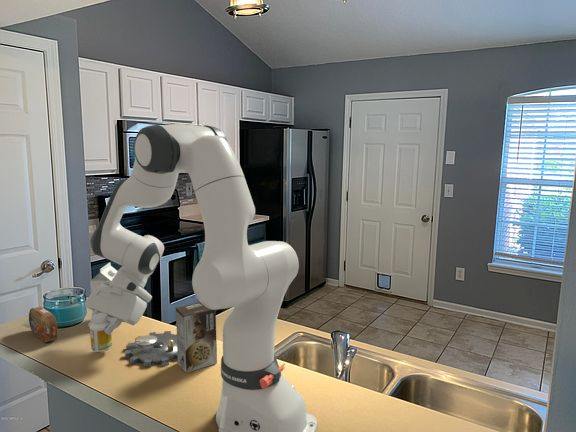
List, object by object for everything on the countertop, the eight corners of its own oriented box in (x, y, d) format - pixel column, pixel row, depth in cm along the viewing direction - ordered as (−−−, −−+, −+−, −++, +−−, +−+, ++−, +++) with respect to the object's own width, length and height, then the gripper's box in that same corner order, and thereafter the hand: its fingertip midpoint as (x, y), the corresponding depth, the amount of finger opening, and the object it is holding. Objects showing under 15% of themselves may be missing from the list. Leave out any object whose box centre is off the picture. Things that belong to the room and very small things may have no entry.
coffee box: (207, 353, 123) (206, 300, 120) (217, 363, 118) (217, 308, 115) (176, 362, 118) (174, 307, 115) (185, 373, 113) (183, 315, 110)
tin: (29, 330, 135) (26, 305, 133) (39, 327, 137) (37, 302, 135) (49, 346, 125) (46, 319, 123) (60, 342, 127) (58, 316, 126)
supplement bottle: (115, 343, 124) (113, 312, 122) (106, 353, 119) (103, 320, 117) (97, 342, 125) (95, 311, 123) (87, 352, 119) (84, 319, 117)
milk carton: (93, 325, 139) (89, 268, 135) (103, 316, 146) (99, 261, 142) (114, 326, 138) (111, 269, 135) (124, 316, 145) (121, 262, 142)
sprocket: (203, 346, 127) (203, 331, 126) (155, 374, 112) (154, 358, 111) (161, 330, 136) (160, 316, 136) (111, 354, 121) (110, 339, 121)
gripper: (96, 275, 130) (68, 317, 123) (142, 288, 119) (114, 335, 113) (110, 284, 134) (84, 326, 128) (156, 298, 123) (129, 344, 117)
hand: (98, 330), depth 120 cm, fingers closed on supplement bottle, 5 cm apart
